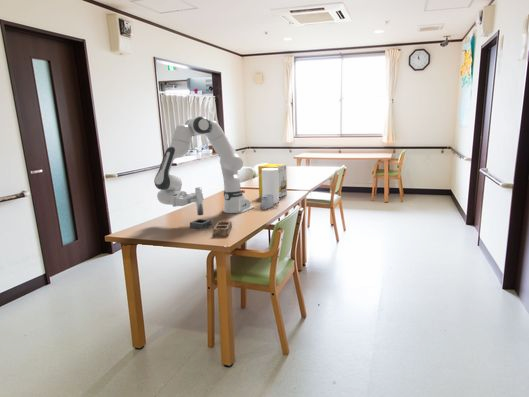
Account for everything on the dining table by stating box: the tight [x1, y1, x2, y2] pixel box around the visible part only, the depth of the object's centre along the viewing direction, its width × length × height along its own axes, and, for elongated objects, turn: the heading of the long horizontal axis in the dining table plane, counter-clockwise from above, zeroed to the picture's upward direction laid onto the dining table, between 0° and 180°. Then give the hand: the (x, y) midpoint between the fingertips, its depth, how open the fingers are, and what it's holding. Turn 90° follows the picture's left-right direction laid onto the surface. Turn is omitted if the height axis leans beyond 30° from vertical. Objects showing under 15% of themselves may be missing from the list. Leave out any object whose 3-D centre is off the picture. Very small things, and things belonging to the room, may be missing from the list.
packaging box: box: [257, 163, 288, 198], centre depth 301 cm, size 16×16×25 cm
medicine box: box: [260, 195, 274, 210], centre depth 265 cm, size 8×4×9 cm, turn 141°
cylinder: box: [262, 168, 280, 204], centre depth 280 cm, size 12×12×25 cm
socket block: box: [189, 218, 213, 230], centre depth 225 cm, size 9×9×3 cm
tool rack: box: [212, 221, 233, 237], centre depth 211 cm, size 8×15×4 cm, turn 178°
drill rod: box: [194, 187, 204, 216], centre depth 222 cm, size 4×4×16 cm
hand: (200, 199), depth 221 cm, fingers closed on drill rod, 4 cm apart
